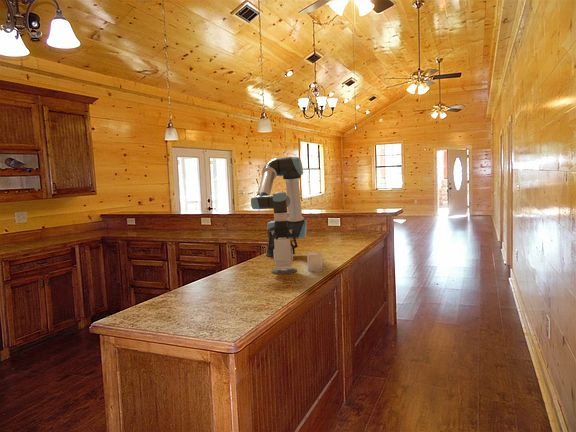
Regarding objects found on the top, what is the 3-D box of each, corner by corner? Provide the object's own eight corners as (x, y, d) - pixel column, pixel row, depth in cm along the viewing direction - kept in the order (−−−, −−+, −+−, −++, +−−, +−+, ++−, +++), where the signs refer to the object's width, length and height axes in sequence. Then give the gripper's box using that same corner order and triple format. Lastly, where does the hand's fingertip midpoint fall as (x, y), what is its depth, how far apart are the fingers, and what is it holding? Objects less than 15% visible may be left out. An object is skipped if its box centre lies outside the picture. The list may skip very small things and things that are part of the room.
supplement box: (291, 266, 231) (290, 239, 229) (275, 267, 231) (273, 240, 230) (291, 263, 240) (290, 236, 238) (276, 264, 240) (274, 237, 239)
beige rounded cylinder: (307, 269, 237) (306, 253, 237) (321, 268, 238) (320, 252, 237) (308, 272, 229) (307, 256, 229) (323, 271, 230) (322, 255, 229)
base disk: (271, 269, 242) (271, 268, 242) (295, 267, 243) (295, 266, 243) (271, 275, 228) (271, 273, 228) (297, 273, 229) (297, 271, 229)
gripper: (261, 222, 229) (263, 263, 231) (301, 219, 230) (303, 260, 232) (261, 220, 236) (263, 260, 238) (300, 218, 237) (302, 258, 239)
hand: (283, 260), depth 235 cm, fingers closed on supplement box, 9 cm apart
